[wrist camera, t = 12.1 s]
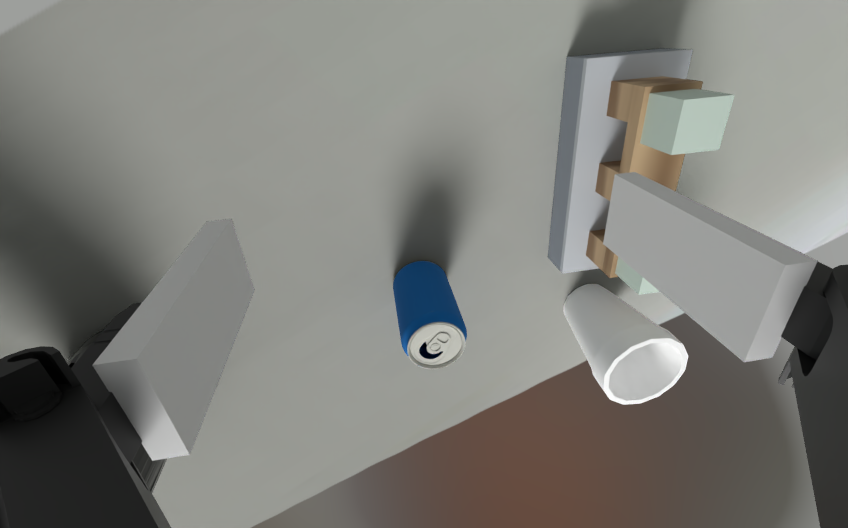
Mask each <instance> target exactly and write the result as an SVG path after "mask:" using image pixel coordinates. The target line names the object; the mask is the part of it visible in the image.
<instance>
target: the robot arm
mask: <svg viewBox="0 0 848 528" xmlns="http://www.w3.org/2000/svg"><path fill="white" fill-rule="evenodd" d="M603 244H604V245H605V246H606V247H607V248H609V249H610V250H611V251H612V252H613V253H615V254H616V255H617V256H618V257H619V258H621V259H622V260H623V261H624V262H625V263H626V264H628V265H629V266H630V267H631V268H632V269H634V270H635V271H636V272H637V273H638V274H640V275H641V276H642V277H643V278H644V279H646V280H647V281H648V282H649V283H650V284H652V285H653V286H654V287H655V288H656V289H657V290H659V291H660V292H661V293H662V294H663V295H665V296H666V297H667V298H668V299H669V300H671V301H672V302H673V303H674V304H675V305H677V306H678V307H679V308H680V309H681V310H683V311H684V312H685V313H686V314H687V315H689V316H690V317H691V318H692V319H693V320H694V321H696V322H697V323H698V324H699V325H701V326H702V327H703V328H704V329H705V330H707V331H708V332H709V333H710V334H711V335H712V336H714V337H715V338H716V339H717V340H718V341H719V342H721V343H722V344H723V345H724V346H725V347H727V348H728V349H729V350H730V351H732V352H733V353H734V354H735V355H736V356H737V357H739V358H740V359H741V360H742V361H743V362H748V361H754V360H760V359H766V358H772V357H773V355H774V353H775V350H776V349H777V346H778V344H779V342H780V340H781V338H782V337H783V338H784V339H785V340H787V341H788V342H790V343H791V344H792V345H794V346H795V347H794V349H793V351H792V353H791V355H790V357H789V359H788V361H787V363H786V365H785V367H784V369H783V371H782V373H781V375H780V377H779V380H778V383H779V384H782V385H783V384H784V383H785V381H786V379H788V378H791V377H792V378H793V385H792V387H793V388H795V394H796V398H797V404H798V409H799V415H800V421H801V425H802V431H803V437H804V442H805V447H806V453H807V458H808V463H809V468H810V474H811V479H812V485H813V490H814V495H815V501H816V506H817V511H818V517H819V522H820V527H821V528H848V265H840V266H838V267H835V268H834V269H832V268H830V267H828V266H826V265H823V264H822V263H819V262H818V261H817V260H815V259H813V258H811V257H809V256H807V255H805V254H803V253H801V252H799V251H797V250H795V249H793V248H791V247H788V246H786V245H784V244H782V243H780V242H778V241H776V240H774V239H772V238H770V237H768V236H766V235H764V234H762V233H760V232H758V231H756V230H753V229H751V228H749V227H747V226H745V225H743V224H741V223H739V222H737V221H735V220H733V219H731V218H729V217H727V216H725V215H723V214H721V213H719V212H716V211H714V210H712V209H710V208H708V207H706V206H704V205H702V204H700V203H698V202H696V201H694V200H692V199H690V198H688V197H686V196H684V195H682V194H679V193H677V192H675V191H673V190H671V189H669V188H667V187H665V186H663V185H661V184H659V183H657V182H655V181H653V180H651V179H649V178H647V177H644V176H642V175H640V174H638V173H636V172H630V173H621V174H615V176H614V181H613V187H612V193H611V199H610V205H609V211H608V217H607V223H606V229H605V235H604V241H603ZM254 290H255V289H254V286H253V283H252V280H251V277H250V274H249V271H248V268H247V265H246V261H245V258H244V255H243V252H242V249H241V246H240V243H239V240H238V237H237V234H236V231H235V228H234V225H233V221H232V219H224V220H215V221H207V222H206V223H205V225H204V226H203V227H202V228H201V230H200V231H199V232H198V233H197V235H196V236H195V237H194V238H193V240H192V241H191V242H190V243H189V245H188V246H187V247H186V248H185V250H184V251H183V252H182V253H181V255H180V256H179V257H178V258H177V260H176V261H175V262H174V263H173V265H172V266H171V267H170V268H169V270H168V271H167V272H166V273H165V275H164V276H163V277H162V278H161V280H160V281H159V282H158V283H157V285H156V286H155V287H154V288H153V290H152V291H151V292H150V293H149V295H148V296H147V297H146V298H145V300H144V301H143V302H142V303H136V304H133V305H131V306H130V307H128V308H127V309H125V310H124V311H123V312H121V313H120V314H118V315H117V316H115V317H114V319H113V320H112V321H111V322H110V323H109V324H108V326H107V327H106V328H105V329H104V330H103V331H102V332H99V333H97V334H96V335H94V336H92V337H91V338H89V339H88V340H87V341H86V342H85V343H84V344H83V345H82V346H81V347H80V349H79V350H78V351H77V352H76V353H75V354H74V356H73V357H72V358H71V360H70V361H69V363H68V364H67V362H66V361H65V359H64V358H63V356H62V355H61V353H60V352H59V351H58V350H57V349H55V348H54V347H36V348H31V349H25V350H22V351H19V352H17V353H14V354H11V355H8V356H6V357H4V358H2V359H0V528H171V527H170V525H169V523H168V521H167V519H166V518H165V516H164V514H163V512H162V511H161V509H160V507H159V505H158V504H157V502H156V500H155V498H154V497H153V495H152V492H153V490H154V487H155V485H156V483H157V481H158V478H159V476H160V474H161V471H162V469H163V467H164V464H165V462H166V460H167V458H172V457H178V456H184V455H190V452H191V450H192V447H193V445H194V442H195V440H196V437H197V435H198V432H199V430H200V427H201V425H202V422H203V420H204V417H205V414H206V412H207V409H208V407H209V404H210V402H211V399H212V397H213V394H214V392H215V389H216V387H217V384H218V382H219V379H220V376H221V374H222V371H223V369H224V366H225V364H226V361H227V359H228V356H229V354H230V351H231V349H232V346H233V344H234V341H235V339H236V336H237V333H238V331H239V328H240V326H241V323H242V321H243V318H244V316H245V313H246V311H247V308H248V306H249V303H250V301H251V298H252V295H253V293H254Z"/></svg>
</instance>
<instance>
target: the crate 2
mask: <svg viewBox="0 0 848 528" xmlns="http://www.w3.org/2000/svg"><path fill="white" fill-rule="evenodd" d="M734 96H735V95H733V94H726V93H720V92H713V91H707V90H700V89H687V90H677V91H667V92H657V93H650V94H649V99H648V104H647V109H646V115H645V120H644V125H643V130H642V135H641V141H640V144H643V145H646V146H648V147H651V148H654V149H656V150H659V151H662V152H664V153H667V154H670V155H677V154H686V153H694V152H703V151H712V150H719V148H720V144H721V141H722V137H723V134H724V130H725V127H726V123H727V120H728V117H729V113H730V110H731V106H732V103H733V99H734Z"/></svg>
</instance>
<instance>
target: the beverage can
mask: <svg viewBox="0 0 848 528" xmlns="http://www.w3.org/2000/svg"><path fill="white" fill-rule="evenodd" d="M393 290H394V297H395V303H396V310H397V316H398V323H399V330H400V336H401V343H402V347H403V349H404V351H405V353H406V354H407V355H408V356H409V358H410V359H411V361H412V362H413V363H414V364H416V365H417V366H419V367H422V368H425V369H439V368H443V367H446V366H449V365H450V364H452V363H454V362H455V361H456V360H457V359H458V358H459V357H460V356H461V355H462V353H463V351H464V349H465V342H466V337H467V331H466V327H465V324H464V321H463V319H462V316H461V314H460V311H459V308H458V306H457V303H456V300H455V298H454V295H453V292H452V290H451V287H450V285H449V282H448V279H447V277H446V274H445V272H444V271H443V269H442V268H441V267H439V266H438V265H436V264H435V263H432V262H429V261H416V262H413V263H410V264H408V265H406V266H404V267H403V268H402V269H401V270H400V271H399V272H398V273H397V275H396V277H395V279H394V283H393Z"/></svg>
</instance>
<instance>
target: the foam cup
mask: <svg viewBox="0 0 848 528" xmlns="http://www.w3.org/2000/svg"><path fill="white" fill-rule="evenodd" d="M564 314H565V317H566V319H567V321H568V323H569V325H570V327H571V329H572V331H573V333H574V335H575V337H576V339H577V341H578V343H579V345H580V347H581V348H582V350H583V352H584V354H585V356H586V358H587V360H588V362H589V364H590V366H591V368H592V370H593V371H592V374H593V375H594V377H595V379H596V380H597V382H598V383H599V385H600V386H601V388H602V389H603V390H604V392H605V393H606V395H607V396H608V397H609V399H610V400H613V401H615V402H618V403H620V404H638V403H643V402H645V401H647V400H650V399H653V398H656V397H658V396H660V395H661V394H662V393H664V392H665V391H667V390H668V389H669V388H671V387H672V386H673V385H674V384H675V383H676V382H677V381H678V379H679V378H680V377H681V375H682V374H683V373H684V371H685V368H686V364H687V360H688V354H687V352H686V350H685V347H684V345H683V344H682V343H681V342H680V341H679V340H678V339H677V338H675V336H674V335H673V334H671V333H670V332H669V331H668V330H666V329H664V328H662V327H660V326H658V325H657V324H655V323H654V322H653V321H651V320H650V319H648V318H647V317H645V316H644V315H643V314H641V313H640V312H638V311H637V310H636V309H634V308H633V307H631V306H630V305H629V304H627V303H626V302H624V301H623V300H622V299H620V298H619V297H617V296H616V295H614V294H613V293H612V292H610V291H609V290H607V289H605V288H604V287H602V286H600V285H598V284H586V285H583V286H581V287H578V288H576V289H575V290H574V291H573V292H572V293H571V294H570V295H568V297H567V299H566V301H565V303H564Z"/></svg>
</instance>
